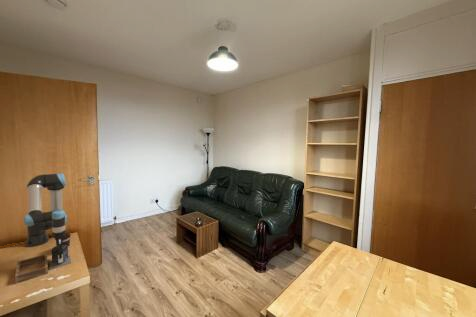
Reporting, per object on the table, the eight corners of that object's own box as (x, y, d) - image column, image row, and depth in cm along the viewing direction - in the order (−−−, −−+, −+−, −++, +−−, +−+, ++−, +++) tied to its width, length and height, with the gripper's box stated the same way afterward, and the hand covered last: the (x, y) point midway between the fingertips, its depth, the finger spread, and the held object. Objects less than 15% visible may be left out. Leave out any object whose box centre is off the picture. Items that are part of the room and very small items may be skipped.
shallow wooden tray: (18, 267, 149) (17, 261, 148) (47, 259, 159) (46, 253, 159) (15, 283, 133) (15, 276, 132) (47, 273, 143) (47, 267, 143)
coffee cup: (53, 252, 170) (52, 235, 169) (67, 247, 179) (67, 230, 177) (59, 255, 165) (58, 238, 164) (73, 250, 174) (72, 233, 173)
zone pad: (49, 262, 156) (49, 261, 156) (69, 256, 165) (69, 255, 165) (50, 269, 148) (50, 268, 148) (71, 263, 156) (71, 262, 156)
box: (68, 257, 159) (67, 244, 159) (62, 262, 154) (62, 248, 153) (57, 258, 159) (57, 245, 158) (51, 262, 153) (51, 248, 152)
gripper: (51, 227, 159) (53, 255, 161) (53, 237, 144) (54, 267, 146) (64, 225, 165) (65, 251, 167) (66, 234, 149) (67, 263, 151)
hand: (60, 259), depth 156 cm, fingers closed on box, 9 cm apart
